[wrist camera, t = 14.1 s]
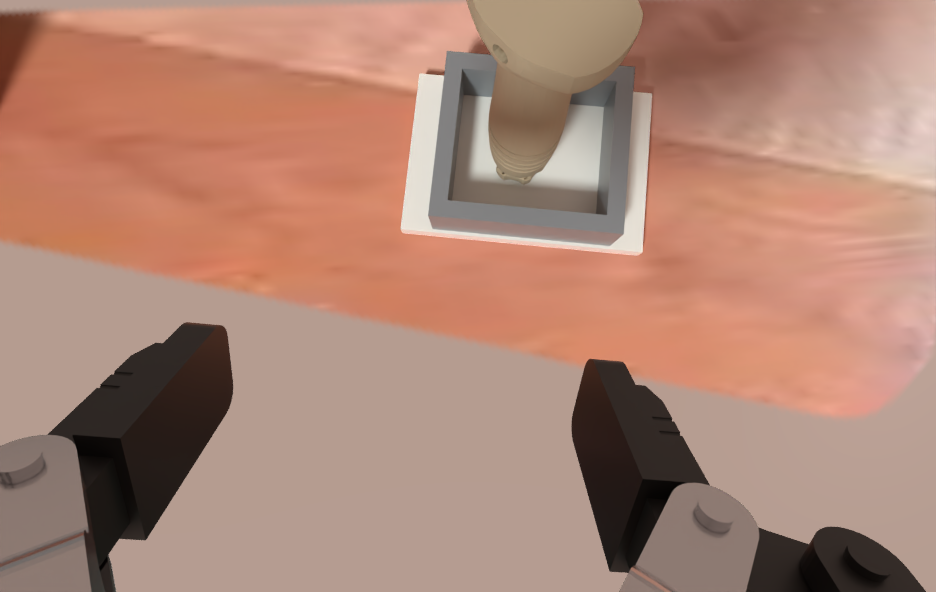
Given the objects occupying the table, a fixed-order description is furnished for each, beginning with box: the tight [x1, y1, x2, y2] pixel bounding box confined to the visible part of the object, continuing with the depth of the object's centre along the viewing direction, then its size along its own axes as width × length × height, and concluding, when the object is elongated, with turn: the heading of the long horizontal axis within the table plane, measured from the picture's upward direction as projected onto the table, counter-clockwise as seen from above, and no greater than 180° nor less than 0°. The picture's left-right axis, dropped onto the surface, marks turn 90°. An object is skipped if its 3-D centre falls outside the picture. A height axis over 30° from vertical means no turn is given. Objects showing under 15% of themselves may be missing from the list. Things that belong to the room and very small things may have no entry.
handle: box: [466, 0, 643, 185], centre depth 25 cm, size 5×6×15 cm
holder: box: [401, 51, 652, 256], centre depth 31 cm, size 15×10×4 cm
